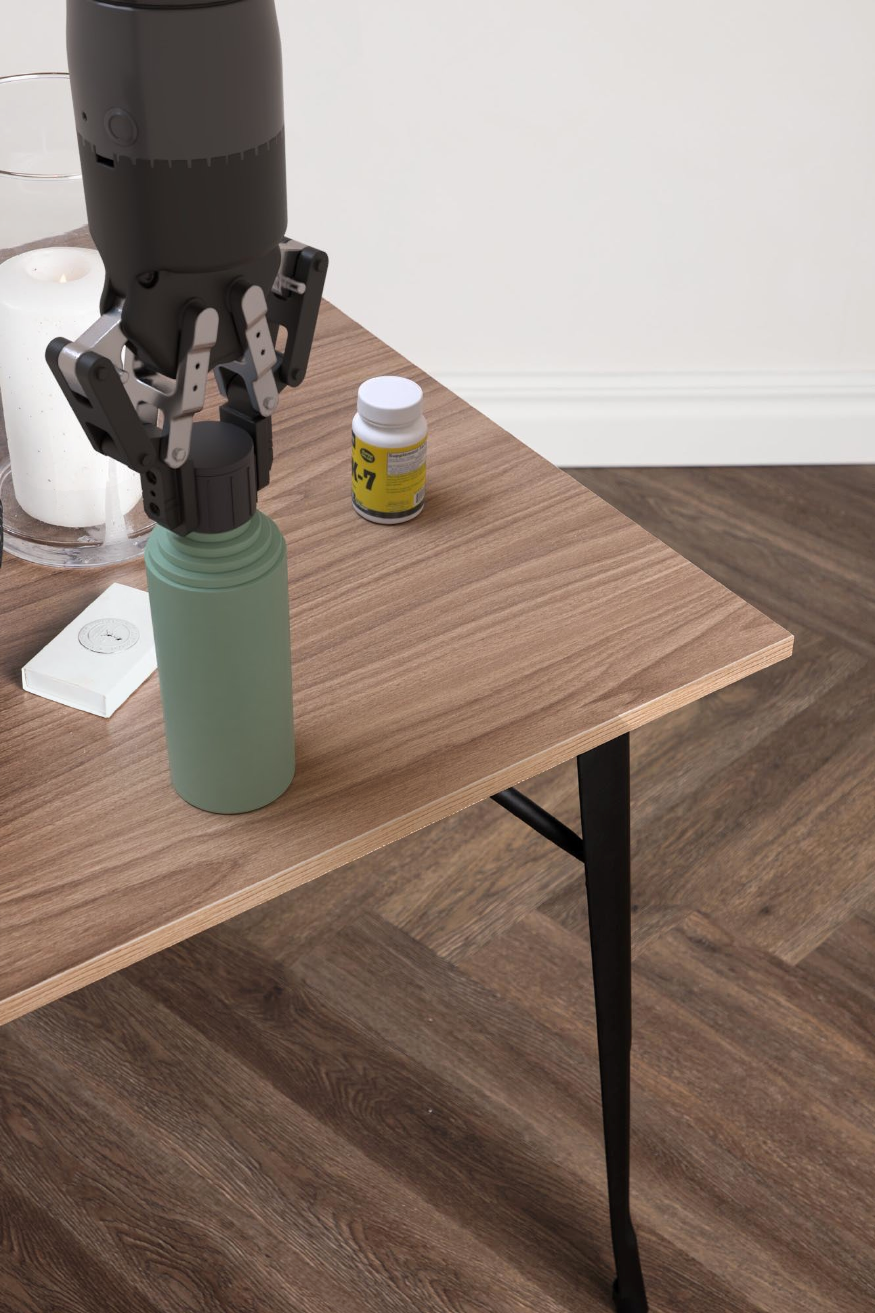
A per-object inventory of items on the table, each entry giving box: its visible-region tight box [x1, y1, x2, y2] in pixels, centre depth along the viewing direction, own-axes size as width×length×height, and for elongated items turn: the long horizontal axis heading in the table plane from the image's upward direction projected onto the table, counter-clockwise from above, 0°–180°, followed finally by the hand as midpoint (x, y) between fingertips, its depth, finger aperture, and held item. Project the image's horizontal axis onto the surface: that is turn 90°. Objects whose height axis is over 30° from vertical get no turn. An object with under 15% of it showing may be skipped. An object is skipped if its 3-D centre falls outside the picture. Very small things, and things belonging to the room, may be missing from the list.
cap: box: [188, 420, 259, 533], centre depth 62 cm, size 4×4×3 cm
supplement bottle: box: [350, 375, 429, 525], centre depth 89 cm, size 5×5×8 cm
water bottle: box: [143, 508, 296, 815], centre depth 67 cm, size 6×6×19 cm
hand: (211, 503), depth 62 cm, fingers closed on cap, 4 cm apart
